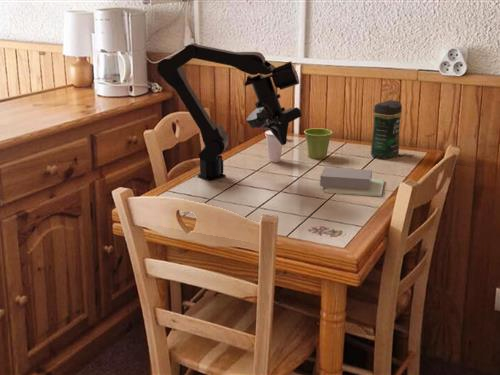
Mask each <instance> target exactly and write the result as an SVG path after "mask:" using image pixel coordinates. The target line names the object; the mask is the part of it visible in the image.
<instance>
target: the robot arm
mask: <svg viewBox="0 0 500 375" xmlns="http://www.w3.org/2000/svg"><path fill="white" fill-rule="evenodd" d="M193 59H196V60H201V61H205V62H211V63H215V64H220V65H225V66H229V67H230V66H231V67H232V68H235V69H237V70H239V71H240V72H243V73H246V74H248V75H247V77H246V80H245V82H244V86H245V87H247V86H250V85H252V89H253V92H254V94H255V97H256V99H257V101H256V102H255V104H254V105H255V109H254V110H253V111H252V112H251V113H250V114H249V116H248V117H247V118H246V119H245V120H246V122H247V124H248V125H249V127H250V128H251V129H255V128H258V129H260V128H261V127H262V129H265V130H267V131H269V130H270V131H271V132H272V133H273V134H274V136H275V137H276V138H277V139H278V141H279V142H280V143H281V145H282V146H284V145H287V140H288V139H287V138H288V129H289V125H290V123H291V122H293V121H295V120H297V119H299V118H300V117H302V116H303V113H302V110H301V108H299V107H291V108H290V107H289V108H288V109H286V108H285V107H284V106H283V107H282V106H281V103H280V101H279V99H280V98H281V94H280V93H277V92H276V88H277V89H279V90H280V91H281V90H285V89H287V88H291V87H295V86H297V85H299V84H300V78H299V75H298V72H297V70H296V68H295V66H294V65H293V63H292V61H290V60H289V61H287V62H285V63H284V64H281V65H278V66H275V65H273V64H272V63H271V62H269V61H267V60H266V58H265V55H263V53H261V52H258V51H232V50H231V51H230V50H226V49H221V48H216V47H213V46H212V47H210V46H206V45H202V44H197V43H195V42H191V43H189V44H187V45H186V46H185V47H184V48H183V49H181V50H180V51H179V52H177V53H176V54H174V55H169V56H167V57H165V58H163V59H161V60H160V61H159V62H158V64H157V66H156V70H157V74H158V75H159V76H160V77H161V78H162V79H163V81H164V83H166V84H167V85H169V86H170V87H171V88H172V89H174V91H175V92H176V93H177V95H178V97H179V99H180V100H181V101H182V103H183V105H184V106H185V108H186V110H187V111H188V113H189V115H190V116H191V118H192V120H193V121H194V123H195V124H196V125H197V127H198V129H199V132H200V135H201V136H200V137H201V138H202V141H203V145H204V147H203V148H202V149H201V151H200V152H199V153H198V157H199V173H197V175H196V176H197V177H199V178H201V179H204V180H207V181H214V180H217V179H222V178H225V177H226V176H227V175H226V174H224V160H223V156H222V153H223V152H224V150H225V149H227V147H228V145H229V138H228V136H229V133H228V132H226V131H225V129H224V126H223V124H222V123H220V124H219V125H217V124H216V123H215V122H213V120H212V118H211V117H210V115H209V114H208V112H207V111H206V109H205V108H204V106H203V105H202V103H201V101H200V99H199V98H198V96H197V95H196V93H195V91H194V90H193V88H192V87H191V85H190V83H189V81H188V79H187V74H186V71H185V67H184V65H186V64H188V63H189V62H190V61H191V60H193ZM251 75H252V76H251Z"/></svg>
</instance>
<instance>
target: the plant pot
mask: <svg viewBox="0 0 500 375" xmlns="http://www.w3.org/2000/svg"><path fill="white" fill-rule="evenodd" d="M303 133H304V135H305V139H306V147H307V148H306V149H307V154H308V155H307V156H308V158H309V159H313V160H318V159H322V160H323V159H326V158H327V155H328V150H329V144H330V140H331V138H332V134H333V131H332V130H330V129H327V128H322V127H321V128H320V127H317V128H307V129H305V130H304V131H303Z"/></svg>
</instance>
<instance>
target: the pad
mask: <svg viewBox="0 0 500 375" xmlns="http://www.w3.org/2000/svg"><path fill="white" fill-rule="evenodd" d="M384 183H385V179H382V178H372V181H371V185H370V189H368V190H355V189H341V188H327V187H324V191H323V193H325V194H341V195H357V196H365V197H366V196H369V197H382V194H383V189H384Z"/></svg>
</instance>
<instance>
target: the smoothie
mask: <svg viewBox="0 0 500 375" xmlns="http://www.w3.org/2000/svg"><path fill="white" fill-rule="evenodd" d="M264 136H265V137H266V138H265V139H266V146H267V147H266V149H267V155H268V161H269V162H270V163H279V162H281V158H282V157H281V156H282V150H283V145H281V143H280V142H279V141H278V139H277V138H276V137H275V136H274V134H273V133H272V132H271V131H270V130H266V131H265V132H264Z"/></svg>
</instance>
